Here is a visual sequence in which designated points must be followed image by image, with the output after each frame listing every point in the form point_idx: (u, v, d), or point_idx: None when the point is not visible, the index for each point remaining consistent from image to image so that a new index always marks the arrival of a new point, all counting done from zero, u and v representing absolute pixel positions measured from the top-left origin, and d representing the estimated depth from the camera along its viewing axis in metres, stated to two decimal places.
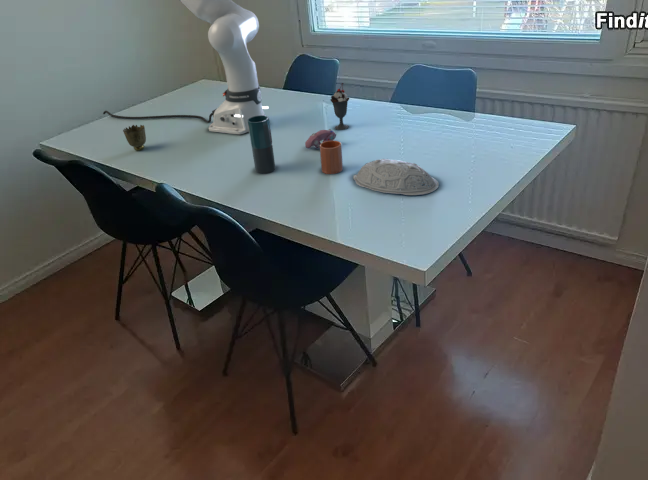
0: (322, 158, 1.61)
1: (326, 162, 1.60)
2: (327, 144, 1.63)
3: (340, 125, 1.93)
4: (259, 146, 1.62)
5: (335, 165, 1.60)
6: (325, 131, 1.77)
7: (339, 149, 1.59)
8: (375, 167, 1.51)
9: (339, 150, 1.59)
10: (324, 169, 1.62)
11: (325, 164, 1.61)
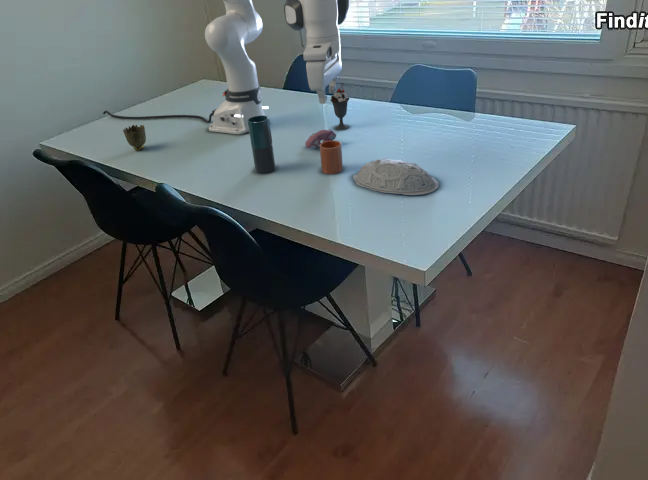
0: (322, 158, 1.61)
1: (326, 162, 1.60)
2: (327, 144, 1.63)
3: (340, 125, 1.93)
4: (259, 146, 1.62)
5: (335, 165, 1.60)
6: (325, 131, 1.77)
7: (339, 149, 1.59)
8: (375, 167, 1.51)
9: (339, 150, 1.59)
10: (324, 169, 1.62)
11: (325, 164, 1.61)
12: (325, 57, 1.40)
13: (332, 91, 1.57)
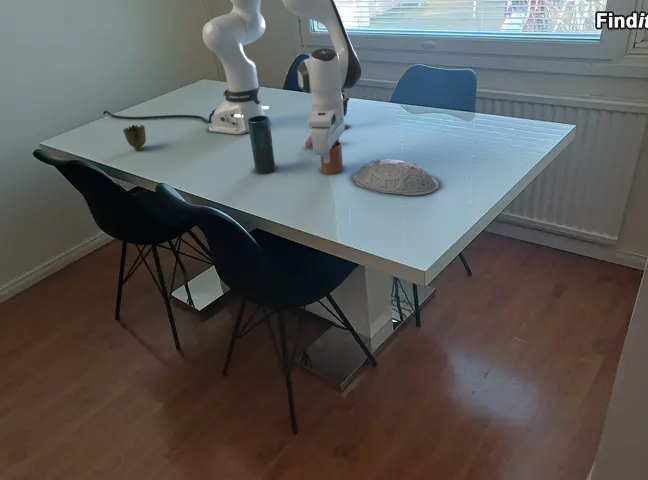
0: (322, 158, 1.61)
1: None
2: None
3: None
4: (259, 146, 1.62)
5: (335, 165, 1.60)
6: None
7: (339, 149, 1.59)
8: (375, 167, 1.51)
9: (339, 150, 1.59)
10: (324, 169, 1.62)
11: (325, 164, 1.61)
12: (329, 125, 1.48)
13: None
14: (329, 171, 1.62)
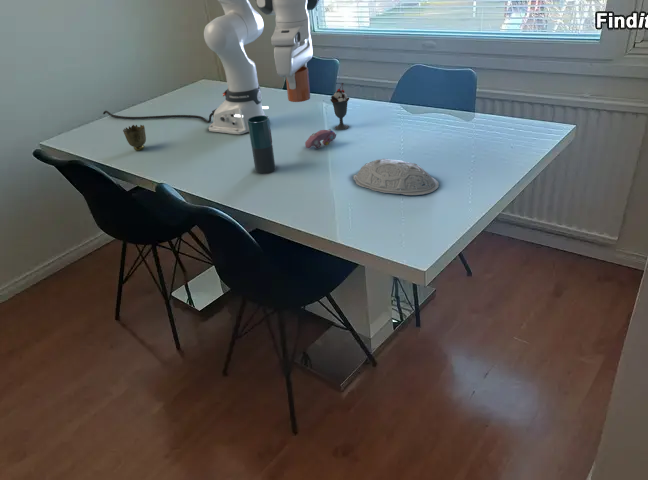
0: (288, 84, 1.51)
1: None
2: None
3: (340, 125, 1.93)
4: (259, 146, 1.62)
5: (301, 92, 1.51)
6: (325, 131, 1.77)
7: (306, 74, 1.49)
8: (375, 167, 1.51)
9: (306, 75, 1.49)
10: (290, 97, 1.52)
11: (290, 90, 1.51)
12: (293, 42, 1.38)
13: None
14: (295, 99, 1.52)
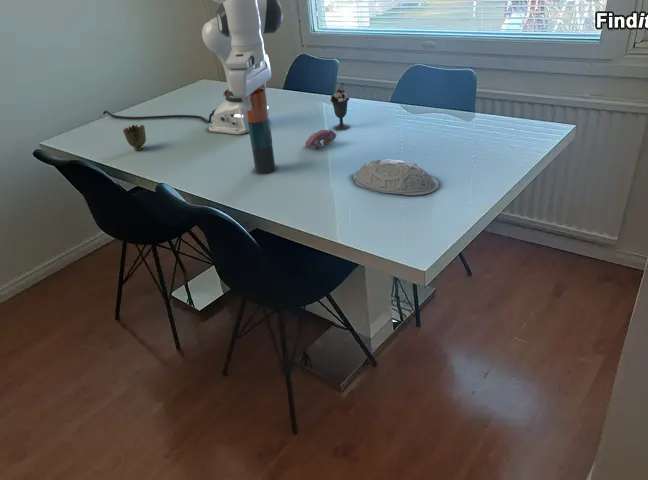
0: None
1: (250, 110, 1.57)
2: None
3: (340, 125, 1.93)
4: (259, 146, 1.62)
5: (259, 113, 1.57)
6: (325, 131, 1.77)
7: (262, 96, 1.55)
8: (375, 167, 1.51)
9: (262, 97, 1.55)
10: (249, 117, 1.59)
11: (249, 111, 1.57)
12: (246, 66, 1.44)
13: None
14: (253, 119, 1.58)
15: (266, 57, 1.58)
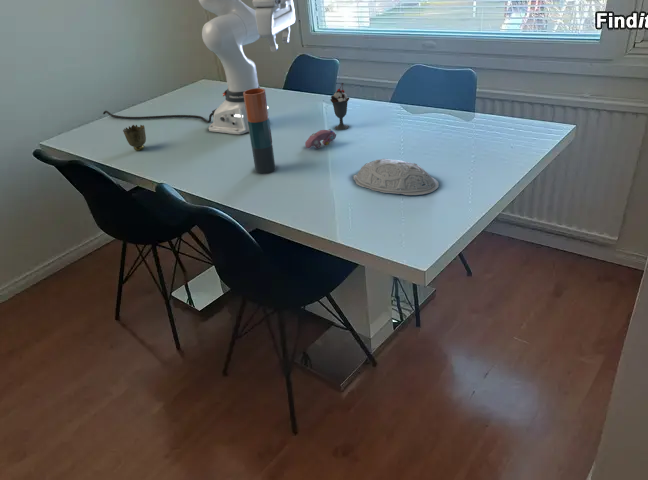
0: (246, 106, 1.57)
1: (250, 110, 1.57)
2: (252, 92, 1.59)
3: (340, 125, 1.93)
4: (259, 146, 1.62)
5: (259, 113, 1.57)
6: (325, 131, 1.77)
7: (262, 96, 1.55)
8: (375, 167, 1.51)
9: (262, 97, 1.55)
10: (249, 117, 1.59)
11: (249, 111, 1.57)
12: (273, 3, 1.44)
13: (285, 41, 1.62)
14: (253, 119, 1.58)
15: (291, 0, 1.58)
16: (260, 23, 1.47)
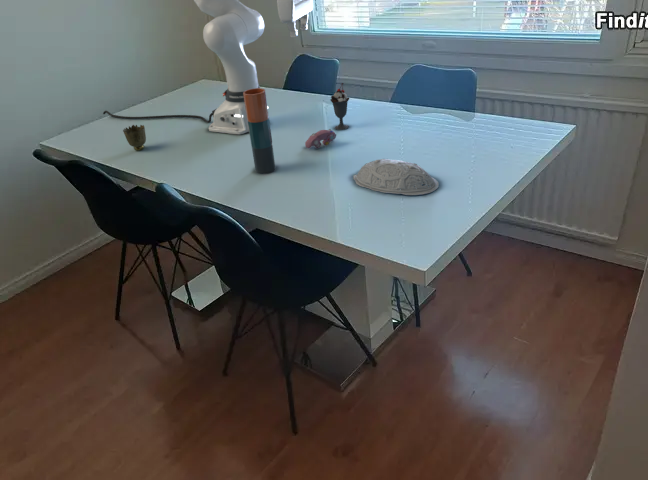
0: (246, 106, 1.57)
1: (250, 110, 1.57)
2: (252, 92, 1.59)
3: (340, 125, 1.93)
4: (259, 146, 1.62)
5: (259, 113, 1.57)
6: (325, 131, 1.77)
7: (262, 96, 1.55)
8: (375, 167, 1.51)
9: (262, 97, 1.55)
10: (249, 117, 1.59)
11: (249, 111, 1.57)
12: None
13: (303, 28, 1.66)
14: (253, 119, 1.58)
15: None
16: (281, 9, 1.51)
